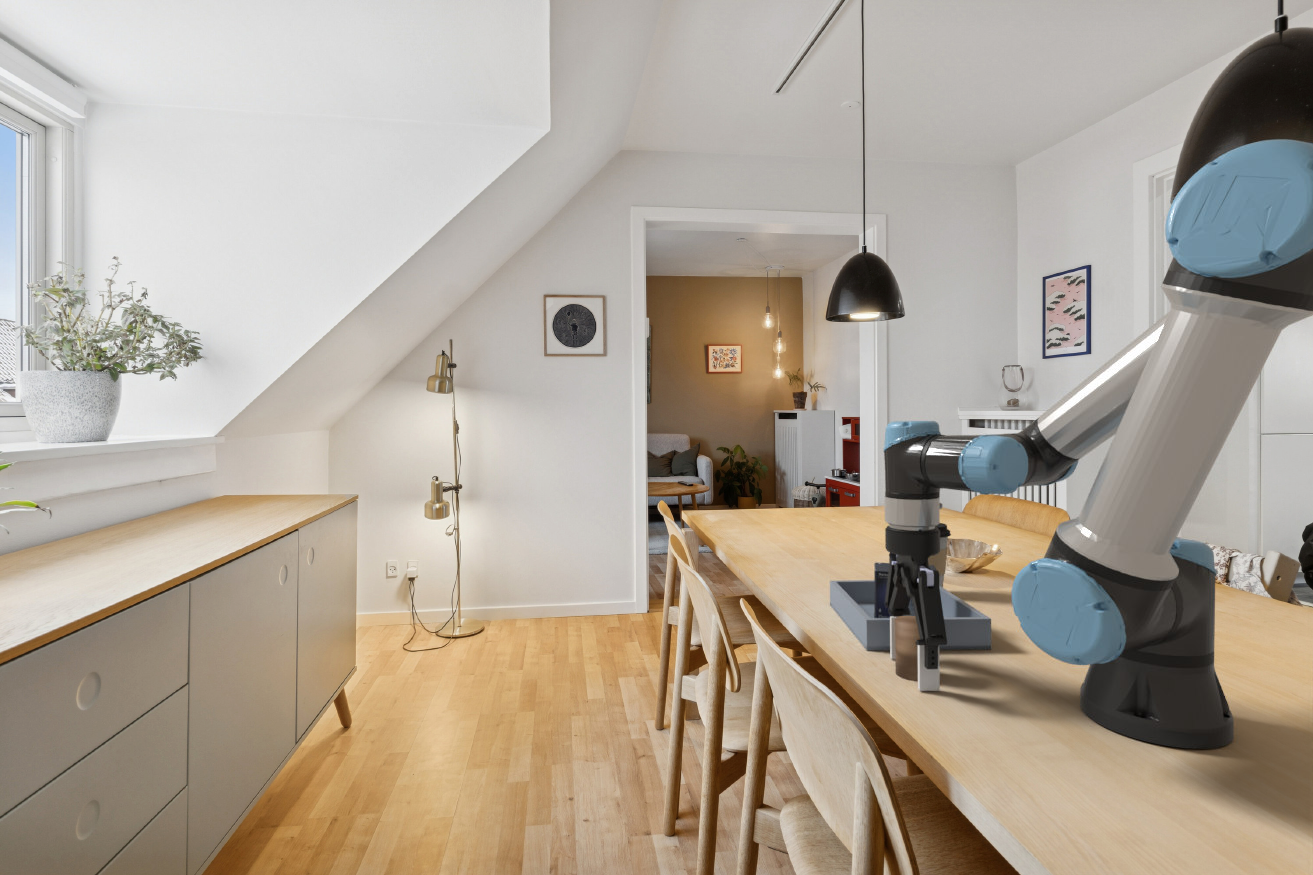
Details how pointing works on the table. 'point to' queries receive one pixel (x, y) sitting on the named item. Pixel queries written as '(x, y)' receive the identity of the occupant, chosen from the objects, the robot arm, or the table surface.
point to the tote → (874, 633)
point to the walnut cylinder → (906, 647)
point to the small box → (880, 591)
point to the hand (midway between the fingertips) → (913, 672)
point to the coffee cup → (941, 553)
